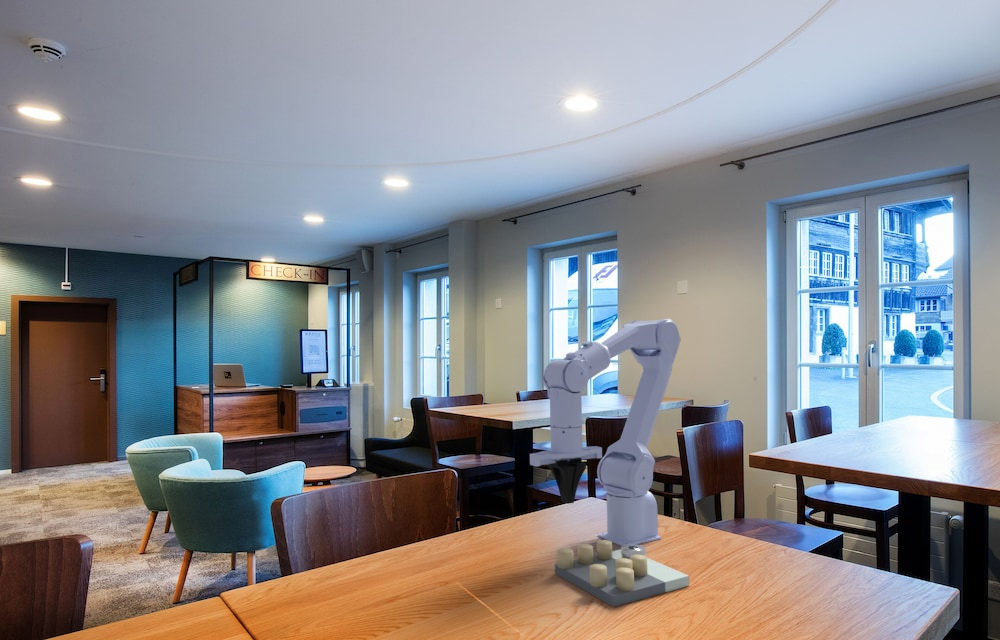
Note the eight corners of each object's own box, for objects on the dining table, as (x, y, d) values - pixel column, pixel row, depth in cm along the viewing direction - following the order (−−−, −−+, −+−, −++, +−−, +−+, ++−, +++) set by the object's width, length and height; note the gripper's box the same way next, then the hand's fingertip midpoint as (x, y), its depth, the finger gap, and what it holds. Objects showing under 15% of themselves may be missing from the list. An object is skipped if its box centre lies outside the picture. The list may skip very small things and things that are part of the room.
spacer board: (625, 556, 108) (624, 534, 108) (689, 585, 95) (688, 559, 95) (553, 573, 101) (553, 549, 101) (612, 607, 88) (611, 579, 88)
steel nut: (632, 554, 105) (631, 541, 105) (650, 560, 102) (650, 547, 102) (616, 559, 103) (615, 546, 103) (634, 566, 100) (634, 553, 100)
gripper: (585, 420, 117) (586, 492, 117) (520, 426, 110) (521, 502, 110) (608, 424, 111) (610, 500, 111) (541, 431, 104) (543, 511, 104)
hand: (567, 502), depth 110 cm, fingers closed
